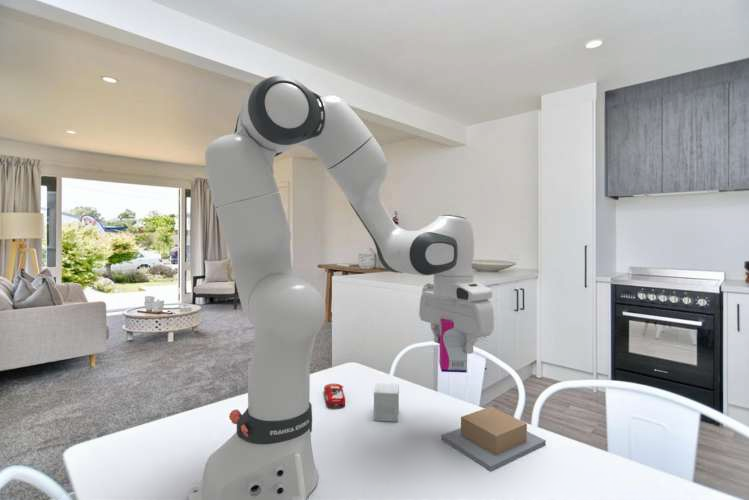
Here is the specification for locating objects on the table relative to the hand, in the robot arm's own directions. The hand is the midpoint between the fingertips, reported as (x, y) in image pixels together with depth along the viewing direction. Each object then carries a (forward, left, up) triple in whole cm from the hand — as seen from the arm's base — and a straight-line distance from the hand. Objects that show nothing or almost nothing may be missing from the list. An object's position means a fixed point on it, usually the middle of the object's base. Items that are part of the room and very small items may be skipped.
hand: (452, 347), depth 89 cm
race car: (-14, +32, -21) cm, 41 cm away
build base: (+6, -7, -21) cm, 22 cm away
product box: (-7, +16, -21) cm, 27 cm away
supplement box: (0, 0, -5) cm, 5 cm away
